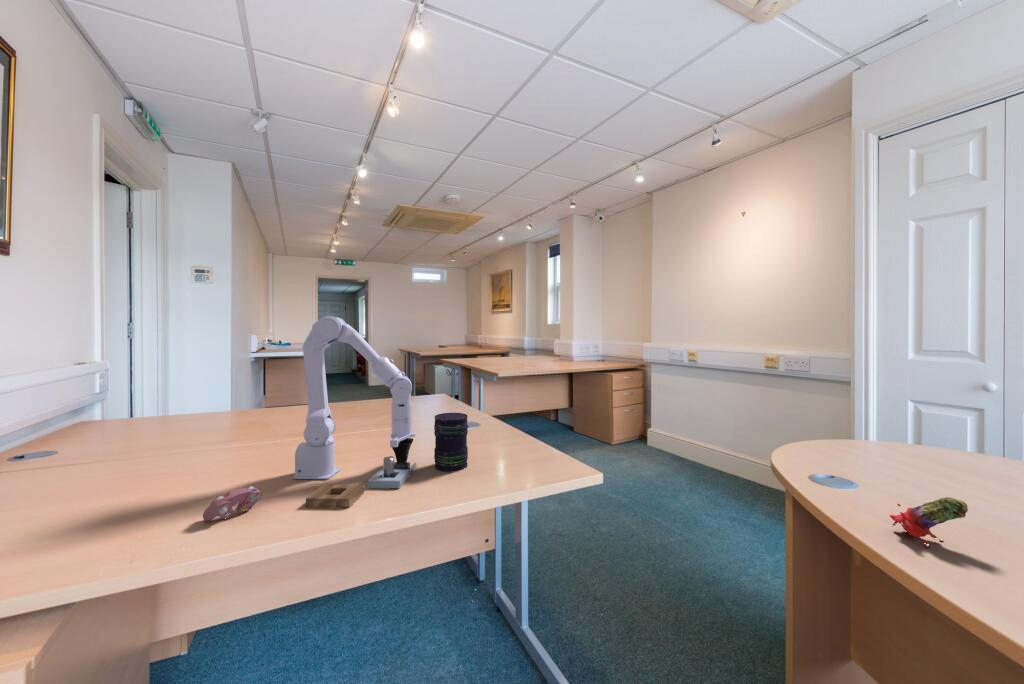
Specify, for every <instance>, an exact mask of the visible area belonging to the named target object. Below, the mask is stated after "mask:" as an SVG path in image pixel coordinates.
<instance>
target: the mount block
mask: <svg viewBox="0 0 1024 684" xmlns="http://www.w3.org/2000/svg"><path fill="white" fill-rule="evenodd" d="M364 492H365V485H364V484H322V485H321V486H320V487H318V488H317V489H316V490H314V491H313V492H312V493H311V494H309V495H308V496H306V497H305V508H331V507H340V509H341V508H343V507H346V508H347V509H349V508H351V507H352V506H353V505H354V504H355V503H356V502H357V501H358V500H359V499H360V498H361V497H362V496H363V495H364ZM361 495H362V496H361ZM360 496H361V497H360ZM359 497H360V498H359ZM357 499H358V500H357ZM356 500H357V501H356ZM353 503H354V504H353ZM343 509H344V508H343Z"/></svg>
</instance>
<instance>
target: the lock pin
mask: <svg viewBox="0 0 1024 684" xmlns="http://www.w3.org/2000/svg"><path fill="white" fill-rule="evenodd" d="M394 458H395V457H394V456H393V455H391V456H389V455H388V456H384V457H383V459H382V460H383V461H382V462H383V469H384V478H394V462H395V459H394Z"/></svg>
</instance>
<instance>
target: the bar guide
mask: <svg viewBox="0 0 1024 684" xmlns="http://www.w3.org/2000/svg"><path fill="white" fill-rule="evenodd" d="M416 468H417V462H413V464H412V465H410V469H409V475H410V476H411V474H413V472H414V471H415V470H416ZM413 470H414V471H413Z"/></svg>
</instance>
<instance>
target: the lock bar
mask: <svg viewBox="0 0 1024 684" xmlns="http://www.w3.org/2000/svg"><path fill="white" fill-rule="evenodd" d="M410 468H411V462H408V461H407V462H397V461H394V470H409V469H410Z"/></svg>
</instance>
